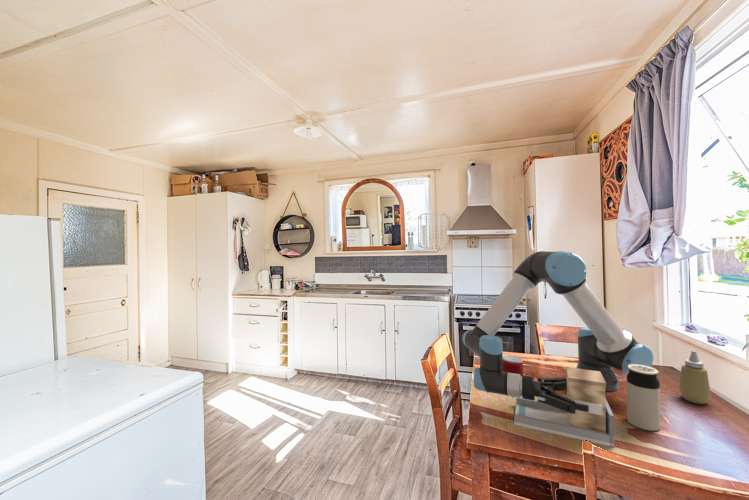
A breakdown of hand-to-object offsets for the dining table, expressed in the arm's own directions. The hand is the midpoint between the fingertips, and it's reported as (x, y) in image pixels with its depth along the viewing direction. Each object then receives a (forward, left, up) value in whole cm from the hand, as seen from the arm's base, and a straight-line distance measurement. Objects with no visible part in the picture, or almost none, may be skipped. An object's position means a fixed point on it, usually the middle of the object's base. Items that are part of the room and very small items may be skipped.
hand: (597, 399), depth 95 cm
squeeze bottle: (-45, -24, -10) cm, 52 cm away
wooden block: (+3, -1, -9) cm, 9 cm away
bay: (+10, -4, -10) cm, 14 cm away
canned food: (+16, -32, -10) cm, 37 cm away
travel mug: (-16, -6, -10) cm, 20 cm away
